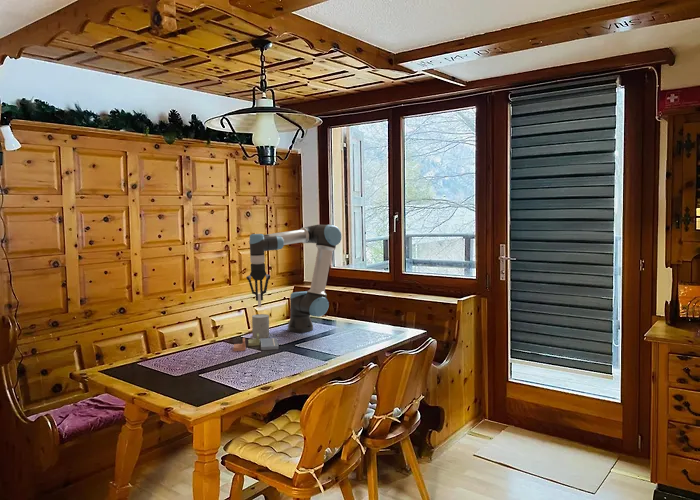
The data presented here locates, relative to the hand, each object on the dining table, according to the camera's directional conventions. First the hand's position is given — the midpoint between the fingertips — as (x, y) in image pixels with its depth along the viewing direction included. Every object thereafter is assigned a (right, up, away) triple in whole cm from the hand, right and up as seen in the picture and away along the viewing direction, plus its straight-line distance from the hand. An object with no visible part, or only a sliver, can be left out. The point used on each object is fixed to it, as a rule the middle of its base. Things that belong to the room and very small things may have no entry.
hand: (259, 306), depth 290 cm
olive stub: (-4, -21, +4) cm, 21 cm away
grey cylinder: (-2, -20, +19) cm, 27 cm away
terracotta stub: (-9, -22, -6) cm, 24 cm away
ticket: (+5, -21, +1) cm, 22 cm away
